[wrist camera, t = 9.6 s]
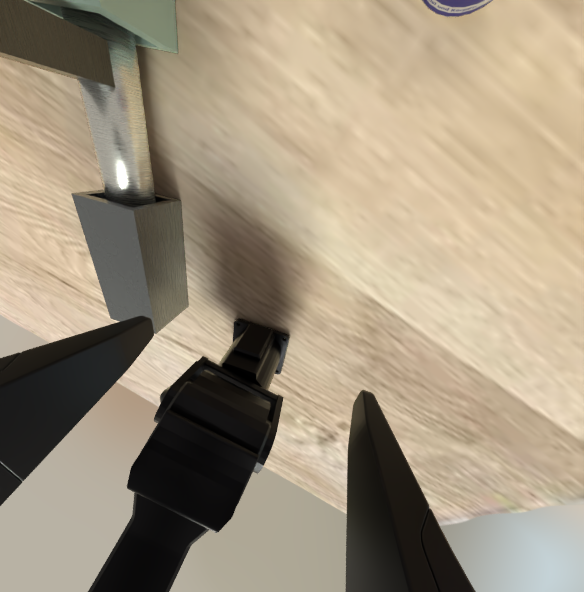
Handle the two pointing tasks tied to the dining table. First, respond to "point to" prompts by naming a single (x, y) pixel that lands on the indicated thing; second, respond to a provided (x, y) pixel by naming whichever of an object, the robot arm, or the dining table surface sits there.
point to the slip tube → (91, 86)
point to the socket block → (129, 18)
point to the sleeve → (136, 255)
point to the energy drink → (455, 6)
